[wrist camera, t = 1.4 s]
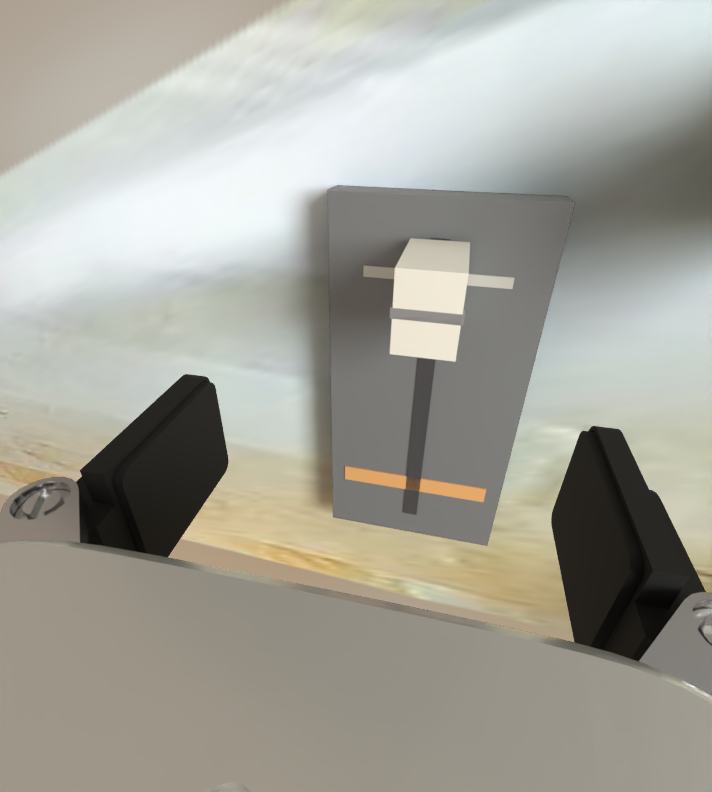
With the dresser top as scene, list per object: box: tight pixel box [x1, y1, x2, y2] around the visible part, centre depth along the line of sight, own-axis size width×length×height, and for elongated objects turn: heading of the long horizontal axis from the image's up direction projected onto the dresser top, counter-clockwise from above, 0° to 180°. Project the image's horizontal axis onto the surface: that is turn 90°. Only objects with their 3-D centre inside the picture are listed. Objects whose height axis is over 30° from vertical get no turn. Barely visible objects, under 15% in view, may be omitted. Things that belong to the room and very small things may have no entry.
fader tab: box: [390, 238, 470, 362], centre depth 22 cm, size 3×4×5 cm
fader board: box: [328, 185, 575, 546], centre depth 29 cm, size 12×24×2 cm, turn 179°
